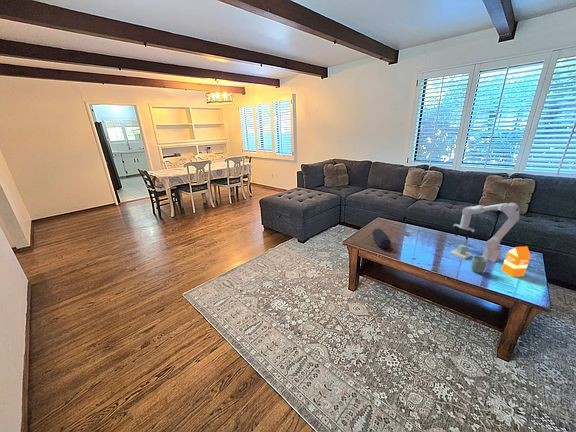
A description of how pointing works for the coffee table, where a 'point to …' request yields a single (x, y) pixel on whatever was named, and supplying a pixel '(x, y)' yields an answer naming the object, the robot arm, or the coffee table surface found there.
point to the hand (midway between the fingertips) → (461, 237)
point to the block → (461, 249)
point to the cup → (478, 264)
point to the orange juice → (516, 261)
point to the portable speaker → (381, 238)
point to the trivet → (460, 254)
